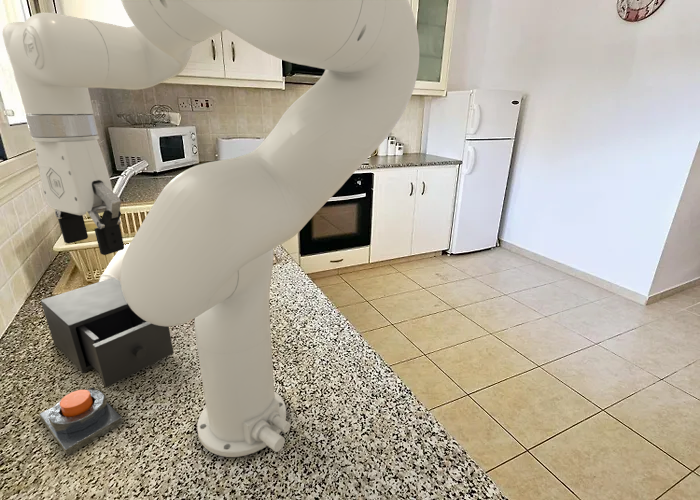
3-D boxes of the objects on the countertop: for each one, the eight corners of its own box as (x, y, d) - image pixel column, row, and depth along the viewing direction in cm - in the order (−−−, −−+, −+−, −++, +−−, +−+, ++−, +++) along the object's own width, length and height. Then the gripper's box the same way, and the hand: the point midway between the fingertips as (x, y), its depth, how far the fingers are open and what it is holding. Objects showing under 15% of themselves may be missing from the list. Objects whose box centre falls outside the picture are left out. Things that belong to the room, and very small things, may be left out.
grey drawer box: (154, 339, 74) (146, 296, 70) (82, 373, 64) (68, 325, 61) (123, 317, 81) (113, 277, 78) (54, 344, 72) (40, 300, 68)
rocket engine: (65, 278, 76) (132, 234, 91) (51, 299, 83) (115, 255, 97) (111, 316, 79) (168, 268, 93) (94, 334, 86) (150, 286, 100)
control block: (123, 423, 55) (119, 407, 53) (67, 456, 49) (61, 439, 48) (94, 392, 60) (90, 377, 59) (41, 419, 55) (35, 403, 54)
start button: (97, 406, 54) (94, 396, 53) (68, 421, 51) (65, 411, 51) (87, 395, 56) (84, 385, 55) (58, 409, 53) (55, 399, 53)
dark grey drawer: (177, 356, 68) (170, 319, 65) (109, 391, 59) (98, 350, 56) (140, 329, 75) (133, 295, 73) (75, 357, 67) (64, 320, 64)
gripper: (1, 128, 52) (37, 243, 58) (67, 132, 44) (101, 265, 50) (62, 126, 58) (88, 231, 64) (129, 129, 50) (152, 248, 56)
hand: (94, 246), depth 57 cm, fingers open, 9 cm apart
